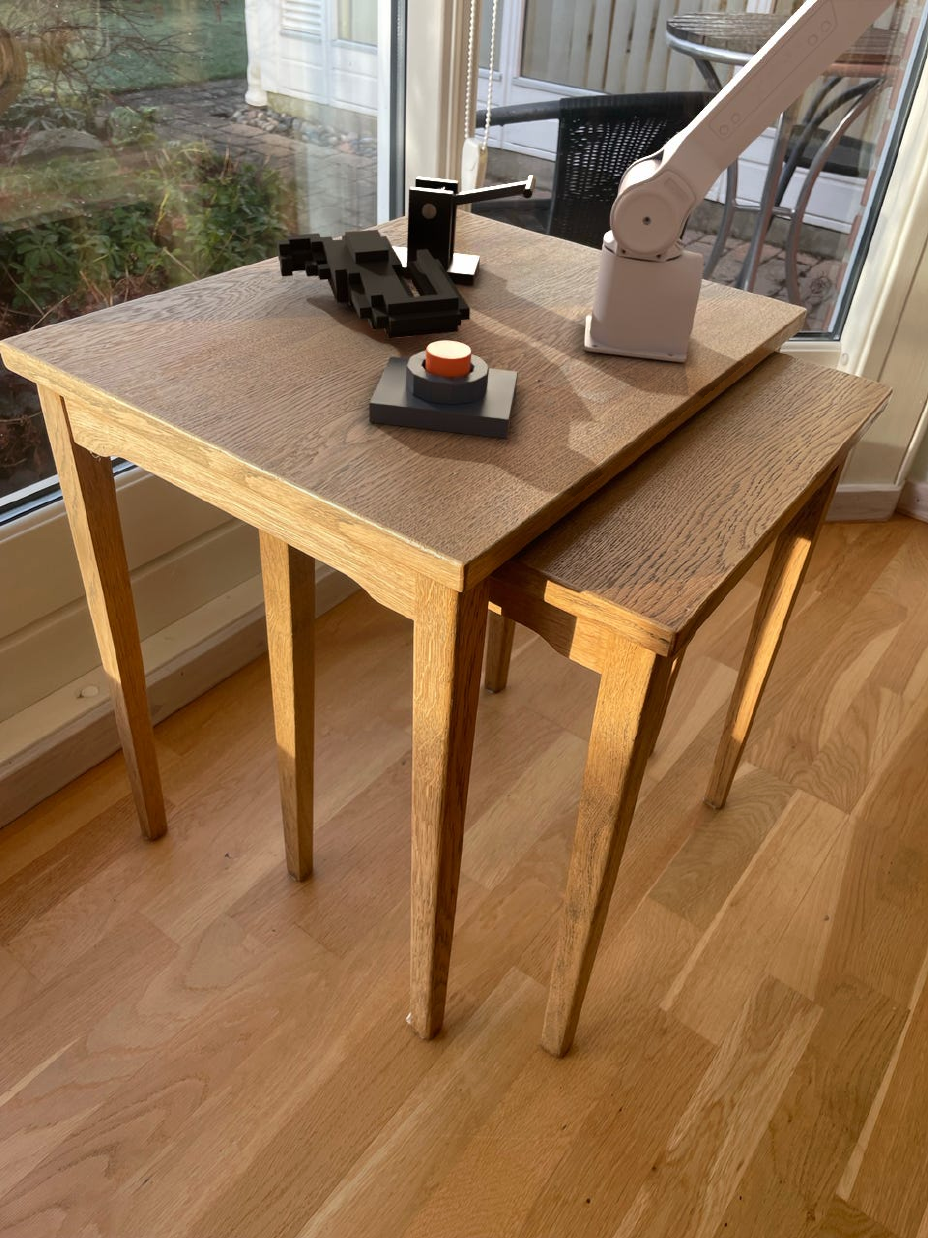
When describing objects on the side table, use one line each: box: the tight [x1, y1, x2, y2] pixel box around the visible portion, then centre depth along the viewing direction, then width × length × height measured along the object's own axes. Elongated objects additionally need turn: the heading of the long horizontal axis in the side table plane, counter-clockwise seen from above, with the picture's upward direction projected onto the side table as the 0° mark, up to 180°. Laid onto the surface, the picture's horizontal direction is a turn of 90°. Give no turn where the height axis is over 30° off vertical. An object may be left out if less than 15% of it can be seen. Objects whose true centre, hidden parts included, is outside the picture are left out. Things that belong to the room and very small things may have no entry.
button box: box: [368, 350, 519, 440], centre depth 80 cm, size 11×9×4 cm
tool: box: [276, 229, 471, 339], centre depth 94 cm, size 5×20×15 cm
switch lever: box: [432, 175, 537, 207], centre depth 101 cm, size 12×5×2 cm, turn 83°
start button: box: [425, 340, 473, 378], centre depth 79 cm, size 4×4×2 cm
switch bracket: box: [392, 176, 481, 287], centre depth 103 cm, size 10×6×9 cm, turn 83°
